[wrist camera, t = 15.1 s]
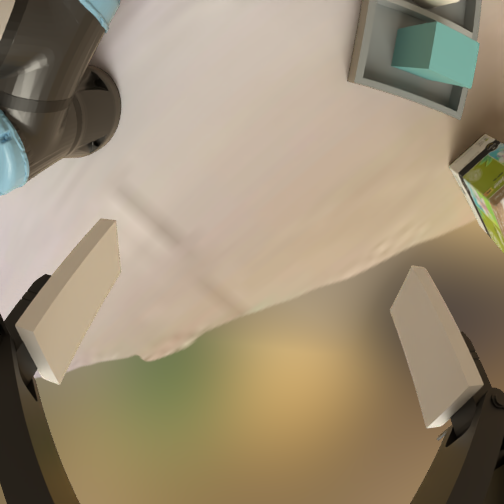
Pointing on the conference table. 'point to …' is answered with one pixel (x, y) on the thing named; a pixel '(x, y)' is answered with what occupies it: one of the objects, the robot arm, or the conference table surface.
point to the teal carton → (436, 53)
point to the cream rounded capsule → (433, 3)
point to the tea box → (484, 184)
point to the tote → (383, 43)
